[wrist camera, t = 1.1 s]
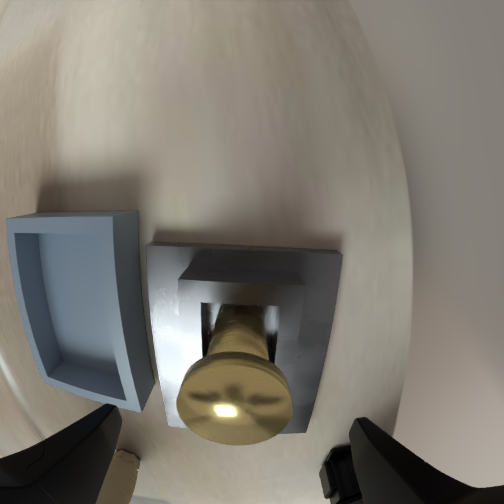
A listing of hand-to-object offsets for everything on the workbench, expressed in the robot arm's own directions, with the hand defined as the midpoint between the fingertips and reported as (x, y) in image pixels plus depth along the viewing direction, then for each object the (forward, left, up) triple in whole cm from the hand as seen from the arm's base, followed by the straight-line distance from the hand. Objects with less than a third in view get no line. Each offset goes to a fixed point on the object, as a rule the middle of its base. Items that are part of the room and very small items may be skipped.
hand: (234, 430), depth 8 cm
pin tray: (+12, 0, -10) cm, 16 cm away
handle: (+13, +21, -10) cm, 27 cm away
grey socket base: (0, +3, -10) cm, 11 cm away
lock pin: (0, 0, -9) cm, 9 cm away
